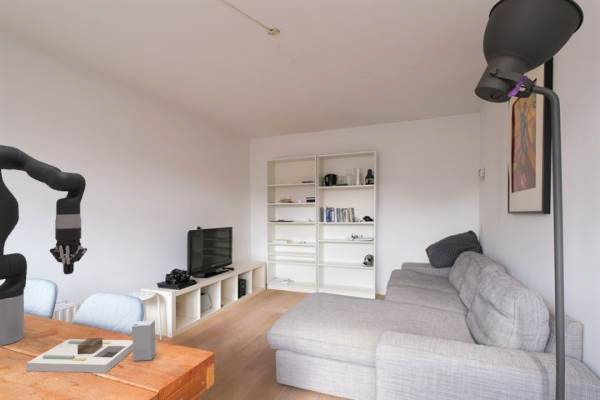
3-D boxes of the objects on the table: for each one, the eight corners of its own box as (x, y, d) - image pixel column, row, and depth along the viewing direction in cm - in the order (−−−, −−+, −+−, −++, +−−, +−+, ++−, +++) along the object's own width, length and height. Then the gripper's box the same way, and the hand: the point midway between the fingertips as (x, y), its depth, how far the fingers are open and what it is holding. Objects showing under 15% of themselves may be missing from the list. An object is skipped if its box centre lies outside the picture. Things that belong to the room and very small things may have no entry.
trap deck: (26, 370, 93) (26, 360, 93) (68, 346, 109) (68, 337, 109) (105, 372, 92) (105, 362, 92) (136, 347, 108) (136, 338, 108)
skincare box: (156, 354, 103) (156, 319, 103) (151, 361, 99) (150, 324, 99) (137, 355, 103) (137, 320, 103) (131, 362, 98) (131, 325, 98)
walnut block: (77, 354, 99) (77, 345, 99) (88, 346, 104) (88, 338, 104) (92, 353, 99) (92, 344, 99) (102, 346, 104) (102, 338, 104)
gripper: (41, 227, 105) (41, 276, 105) (77, 227, 104) (77, 276, 104) (60, 225, 112) (60, 271, 112) (93, 225, 112) (93, 271, 112)
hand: (68, 273), depth 108 cm, fingers closed
